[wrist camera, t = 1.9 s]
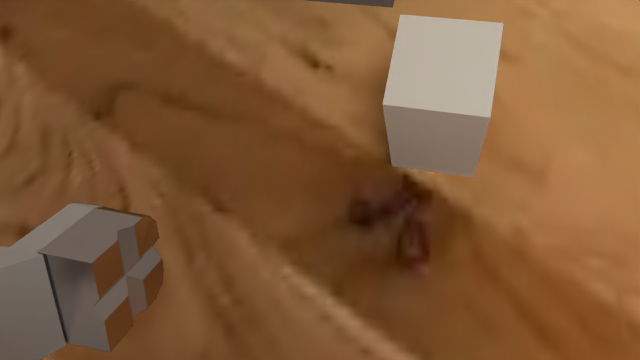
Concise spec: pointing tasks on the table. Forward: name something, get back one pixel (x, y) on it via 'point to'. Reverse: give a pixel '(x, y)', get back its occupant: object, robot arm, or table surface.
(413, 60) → the cream block
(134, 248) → the robot arm
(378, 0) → the slate block
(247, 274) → the table surface
